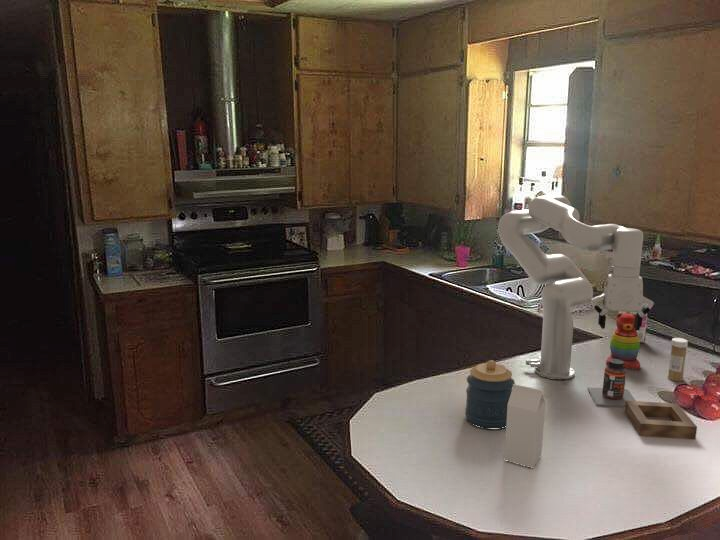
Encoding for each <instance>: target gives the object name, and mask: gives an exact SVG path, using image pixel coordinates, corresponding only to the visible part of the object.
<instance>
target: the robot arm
mask: <svg viewBox="0 0 720 540" xmlns="http://www.w3.org/2000/svg"><path fill="white" fill-rule="evenodd" d="M549 228H551V229H554V230H555V231H558V232H559V233H560V234H561V236H562V237H563V239H564V240H565V241H566V242H567V243H568V244H570V245H572V246H573V247H575V248H578V249H579V250H583V251H586V252H588V253H589V252H590V253H593V252H601V251H609V250H612V258H611V259H612V260H611V264H610V265H609V266H606V267H605V272H609V274H608V275H607V278H606V282H605V285H604V289H603V293H602V294H600V295H598V296H595V297H593V296H594V289H593V287H592V285H591V282H590V281H589V280H588V278H587V277H586V276H585V274H583V272H582V271H581V270H580V269H579V267H578V266H577V265H576V264H575V262H573V260H572V259H571V258H570V257H569V256H566V255H565V254H563V253H553V254H546V253H545V252H544V251H543V250H542V249H541V248H540V246H539V245H538V243H536V242H535V241H534V240H532V238H531V239H530V238H529V237H527V236H525V235H532V234H539V233H542V232H544V231H547V229H549ZM497 232H498V236H499V239H500V241H501V243H502V245H503V246H504V247H505V249H506V250H507V251H508V252H509V253H510V254H511V255H512V256H513V257H514V258H515V260H516V261H517V263H518V264H519V265H520V267H521V268H522V269H523V270H524V272H525V274H527V276H528V277H529V278H530V280H532V282H534V284H536V285H545V286H544V287H543V288H542V290H541V304H542V317H543V318H542V329H541V331H542V333H541V346H540V347H541V348H540V355H539V356H538V358H535V359H531V358H525V365H526V366H529V365H530V367H531V368H534V372H535V373H536V374H537V375H538V374H539V376H540V375H541V376H540V377H542V376H543V378H545V377H546V379H549V378H551V379H550V380H555V379H565V380H570V379H572V378H573V377H574V376H575V369H573V368H572V367H571V360H572V349H573V338H574V337H573V334H574V318H573V316H572V313H571V310H570V309H572V308H573V309H574V308H576V307H581V306H582V307H583V306H585V305H587V304H589V303H590V302H591V304H592V307H593V308H594V310H595V311H596V312H597V313H598V320H597V322H598V323H597V324H598V325H599V327H600V328H601V329H602V330H603V329H604V330H605V328H606V318H607V316H606V315H605V314H606V313H608V312H609V311H611V312H619V311H629V312H637V314H636V315H635V320H634V328H635V329H636V330H639V329H640V327H641V326H642V317H644V315H645V314H647V313H648V314H649V313H650V312H651V311H650V310H651V309H652V308H653V306H654V305H655V302H654V301H653V300H651V299H649V298H647V297H645V296H644V283H643V277H642V276H640V273H641V272H640V271H641V263H642V262H641V261H642V254H643V253H642V252H643V243H644V232H643V230H641V229H637V228H633V227H632V228H631V227H624V226H622V225H620V224H616V223H606V224H597V225H588V224H586V223H583V222H581V221H580V212H579V210H578V209H577V208H575V207H572V206H571V202H570V201H569V199H568V197H566V196H564V195H561V194H547V195H539V196H537V197H534V198H533V199H532V200H531V201H530V202H529V204H528V207H527V209H520V210H518V209H517V210H512V211H508V212H506V213H504V214H503V215H502V216H501V217H500V219H499V220H498V225H497ZM601 301H602V304H603V305H602V306H601V307H600V306H599V305H598V302H601ZM643 302H645V303H647V304H646V306H645V307H644V308H643V309H642V305H643Z"/></svg>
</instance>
